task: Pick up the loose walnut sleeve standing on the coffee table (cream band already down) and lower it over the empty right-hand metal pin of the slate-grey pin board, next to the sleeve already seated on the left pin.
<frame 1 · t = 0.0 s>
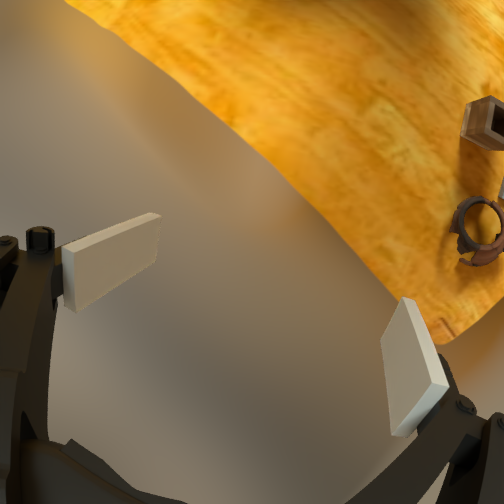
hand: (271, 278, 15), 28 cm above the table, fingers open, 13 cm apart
sleeve loose: (477, 127, 31), on the table
pottery mug: (476, 231, 36), on the table
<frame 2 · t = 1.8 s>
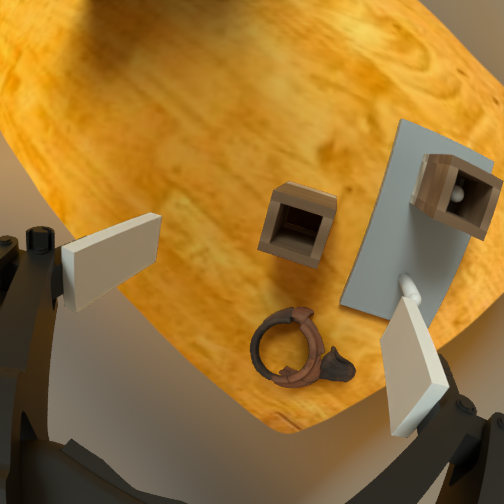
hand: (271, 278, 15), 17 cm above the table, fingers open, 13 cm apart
sleeve loose: (305, 211, 31), on the table
sleeve seated: (438, 187, 26), point 1 cm above the table, touching pin board
pin board: (419, 231, 28), on the table
pottery mug: (307, 340, 36), on the table
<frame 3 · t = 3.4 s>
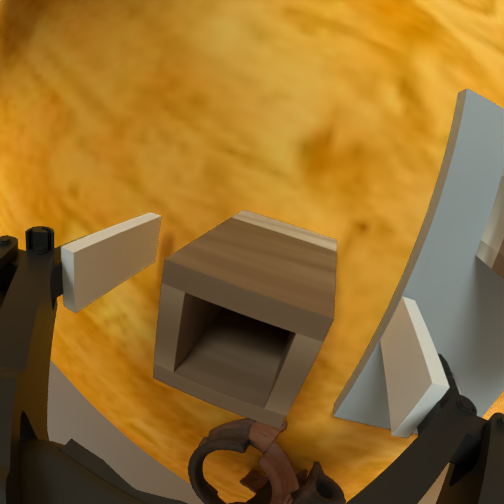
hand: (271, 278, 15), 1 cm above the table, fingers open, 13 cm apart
sleeve loose: (276, 268, 17), on the table
pin board: (480, 301, 14), on the table
pottery mug: (279, 447, 22), on the table
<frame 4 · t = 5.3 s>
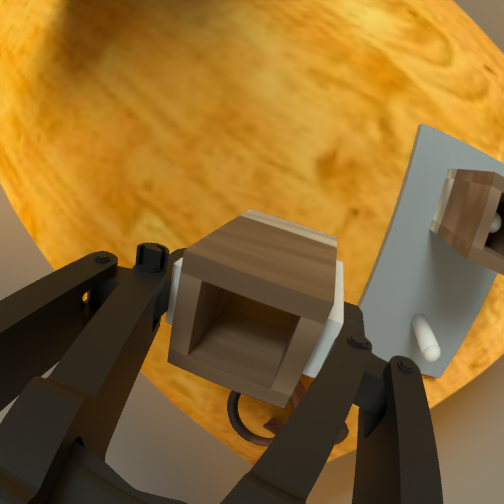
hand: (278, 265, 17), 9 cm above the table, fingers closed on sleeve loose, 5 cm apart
sleeve loose: (280, 263, 18), point 8 cm above the table, touching gripper
sleeve seated: (464, 209, 20), point 1 cm above the table, touching pin board
pin board: (439, 263, 23), on the table
pottery mug: (295, 392, 30), on the table
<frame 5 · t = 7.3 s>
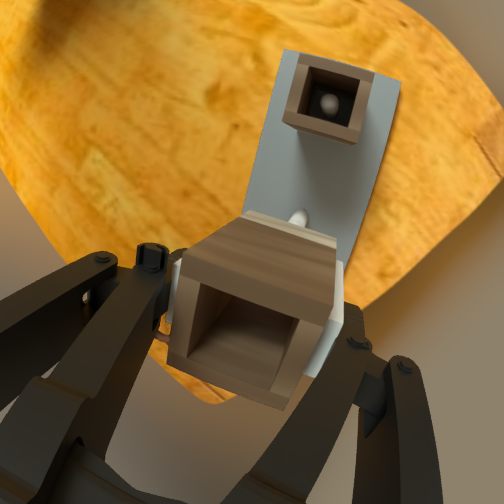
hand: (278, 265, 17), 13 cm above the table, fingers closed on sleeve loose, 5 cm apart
sleeve loose: (280, 264, 18), point 13 cm above the table, touching gripper
sleeve seated: (330, 111, 25), point 1 cm above the table, touching pin board
pin board: (317, 163, 28), on the table
when the fingers open (3 cm above the table, at t = 9.6 s): sleeve loose stays where it is, resting on pin board.
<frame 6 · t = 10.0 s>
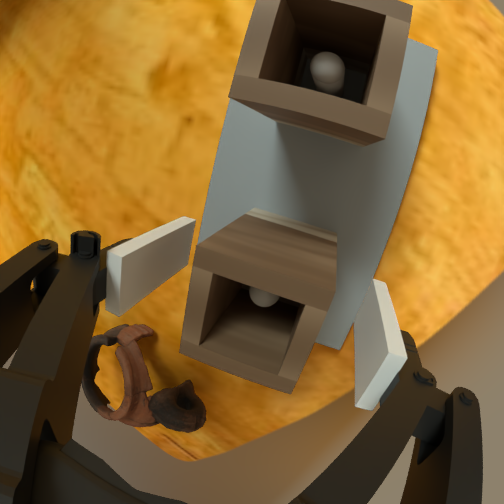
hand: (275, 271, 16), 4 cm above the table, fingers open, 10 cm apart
sleeve loose: (284, 259, 19), point 1 cm above the table, touching pin board
sleeve seated: (330, 92, 15), point 1 cm above the table, touching pin board
pin board: (309, 174, 18), on the table
pottery mug: (163, 367, 26), on the table
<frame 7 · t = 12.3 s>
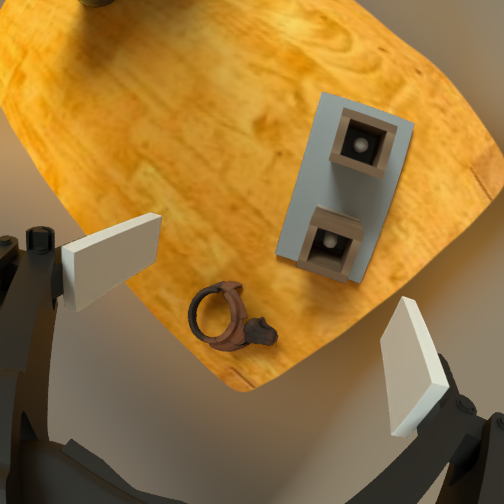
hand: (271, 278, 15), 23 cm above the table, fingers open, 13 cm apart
sleeve loose: (331, 231, 35), point 1 cm above the table, touching pin board
sleeve seated: (357, 147, 31), point 1 cm above the table, touching pin board
pin board: (344, 188, 34), on the table
pottery mug: (242, 312, 43), on the table
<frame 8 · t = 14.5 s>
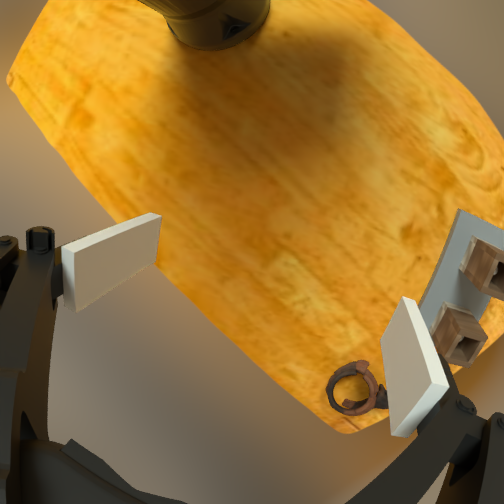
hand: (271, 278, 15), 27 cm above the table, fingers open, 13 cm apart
sleeve loose: (449, 319, 38), point 1 cm above the table, touching pin board
sleeve seated: (478, 257, 34), point 1 cm above the table, touching pin board
pin board: (461, 285, 37), on the table
pottery mug: (361, 380, 46), on the table
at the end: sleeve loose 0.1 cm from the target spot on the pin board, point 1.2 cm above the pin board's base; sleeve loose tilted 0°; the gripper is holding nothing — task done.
